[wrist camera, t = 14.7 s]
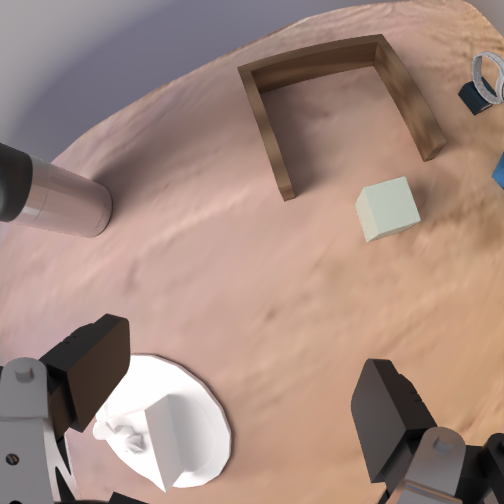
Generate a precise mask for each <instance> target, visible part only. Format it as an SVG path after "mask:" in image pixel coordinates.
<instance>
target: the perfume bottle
mask: <svg viewBox="0 0 504 504" xmlns="http://www.w3.org/2000/svg"><path fill="white" fill-rule="evenodd" d="M492 177H493V178H494V179H495V181H496V182H497V183H498V184H499V185H500V186H501V187H502V188H503V189H504V152H503V155H502V157H501V159H500V161H499V163H498V165H497V167H496V169H495V171H494V173H493V175H492Z"/></svg>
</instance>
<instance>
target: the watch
mask: <svg viewBox="0 0 504 504" xmlns="http://www.w3.org/2000/svg"><path fill="white" fill-rule="evenodd" d="M482 56H485V57H487V58H489V59H491V60H492V61H493V62H494V63H495V64H496V65H497V66H498V68H499V69H500V70H499V69H498V78H497V81H496V86H495V91H496V92H495V91H494V90H493V89H492V87H491V86H490V85H489V84H488V82H487V81H486V80H485V79H484V77H481V76H482V73H481V65H482ZM471 78H472V79H473V81H471V82H469V83H466V84H464V86H463V87H462V89H461V90H460V92H459V93H458V95H459V96H460V98H461V99H462V100H463V101H464V103H465V104H466V105H467V107H468V108H469V109H470V110H471V112H472V113H473V115H476V114H478V113H480V112H482V111H484V110H486V109H487V108H489V107H491V106H492V105H493V104H501V103H502V102H504V60H503V59H502V58H501V57H500V56H498V55H497V54H495V53H493V52H483V53H480V54H477V55H475V56H474V58H473V59H472V60H471Z"/></svg>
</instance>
